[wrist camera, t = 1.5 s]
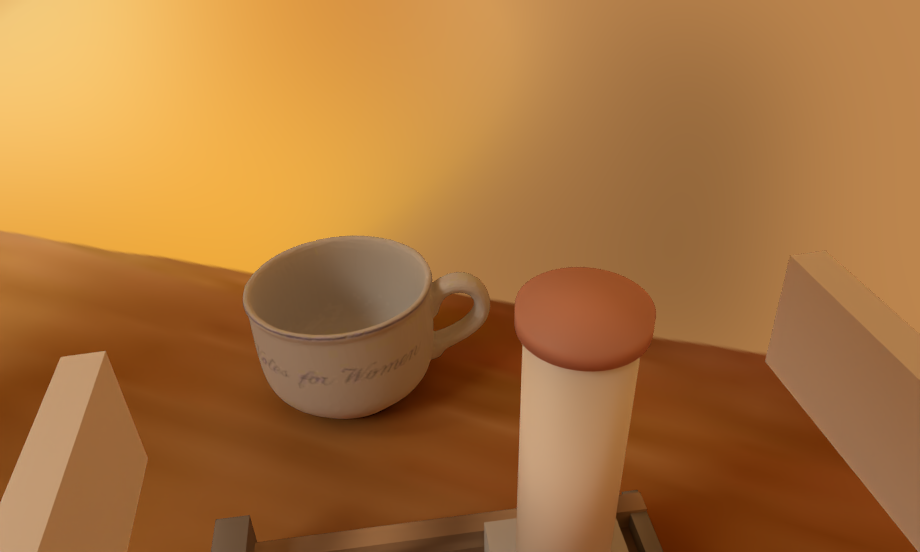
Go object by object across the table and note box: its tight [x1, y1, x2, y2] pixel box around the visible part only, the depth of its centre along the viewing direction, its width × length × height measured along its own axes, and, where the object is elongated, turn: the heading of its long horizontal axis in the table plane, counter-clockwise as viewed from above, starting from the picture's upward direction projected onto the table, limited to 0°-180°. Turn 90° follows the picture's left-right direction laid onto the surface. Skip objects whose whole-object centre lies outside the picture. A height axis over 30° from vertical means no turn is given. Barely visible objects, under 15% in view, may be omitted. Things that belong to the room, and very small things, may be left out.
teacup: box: [243, 236, 490, 419], centre depth 45 cm, size 14×11×8 cm
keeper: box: [484, 267, 656, 552], centre depth 29 cm, size 6×5×16 cm
